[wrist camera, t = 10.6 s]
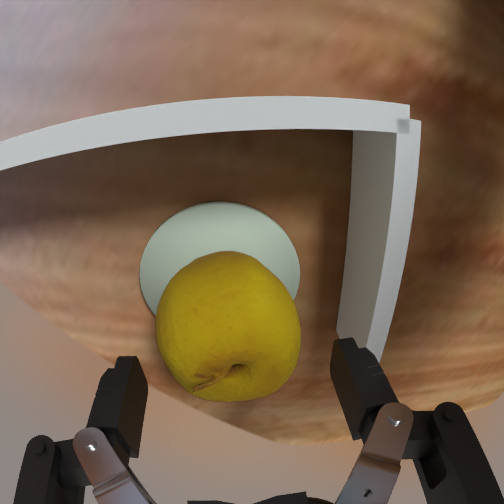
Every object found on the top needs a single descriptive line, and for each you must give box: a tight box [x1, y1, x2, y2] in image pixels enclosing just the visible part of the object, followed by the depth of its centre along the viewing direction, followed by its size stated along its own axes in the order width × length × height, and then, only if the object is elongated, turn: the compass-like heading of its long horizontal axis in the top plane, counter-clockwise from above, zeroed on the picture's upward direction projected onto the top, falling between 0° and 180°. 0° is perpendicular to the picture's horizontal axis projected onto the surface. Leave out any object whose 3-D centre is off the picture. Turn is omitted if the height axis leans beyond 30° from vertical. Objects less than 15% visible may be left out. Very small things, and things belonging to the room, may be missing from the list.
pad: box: [140, 201, 300, 316], centre depth 18 cm, size 9×9×1 cm
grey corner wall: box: [0, 96, 421, 363], centre depth 15 cm, size 23×15×4 cm, turn 92°
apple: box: [155, 251, 301, 402], centre depth 14 cm, size 6×6×8 cm
